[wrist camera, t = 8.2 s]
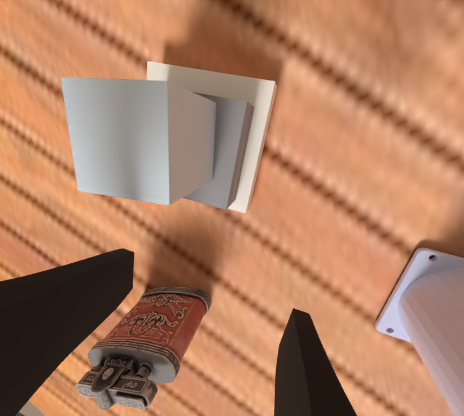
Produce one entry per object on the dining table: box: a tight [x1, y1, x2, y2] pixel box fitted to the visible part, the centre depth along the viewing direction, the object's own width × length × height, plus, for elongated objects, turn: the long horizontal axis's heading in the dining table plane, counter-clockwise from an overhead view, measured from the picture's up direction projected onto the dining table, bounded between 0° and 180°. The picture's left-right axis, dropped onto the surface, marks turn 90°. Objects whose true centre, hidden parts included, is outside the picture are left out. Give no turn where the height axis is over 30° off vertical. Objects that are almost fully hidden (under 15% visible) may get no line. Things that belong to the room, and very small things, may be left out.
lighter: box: [76, 286, 211, 410], centre depth 19 cm, size 8×3×10 cm, turn 101°
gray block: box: [61, 77, 216, 205], centre depth 11 cm, size 4×4×6 cm
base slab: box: [147, 61, 277, 213], centre depth 17 cm, size 9×9×2 cm
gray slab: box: [183, 92, 255, 210], centre depth 15 cm, size 6×6×2 cm
